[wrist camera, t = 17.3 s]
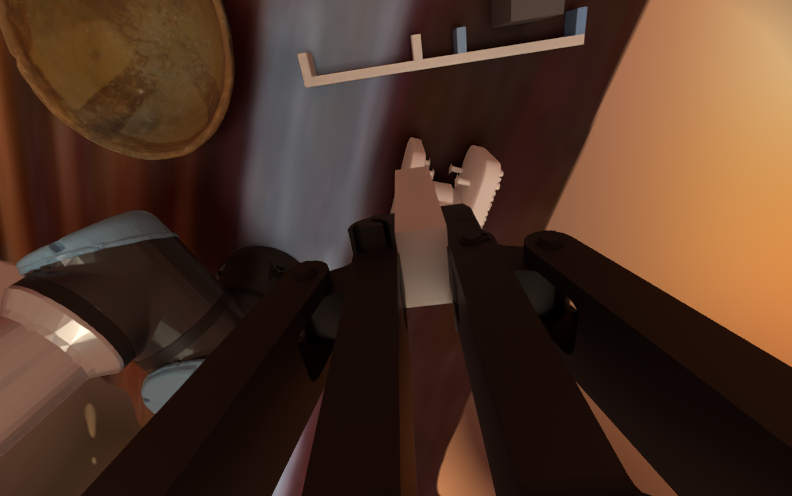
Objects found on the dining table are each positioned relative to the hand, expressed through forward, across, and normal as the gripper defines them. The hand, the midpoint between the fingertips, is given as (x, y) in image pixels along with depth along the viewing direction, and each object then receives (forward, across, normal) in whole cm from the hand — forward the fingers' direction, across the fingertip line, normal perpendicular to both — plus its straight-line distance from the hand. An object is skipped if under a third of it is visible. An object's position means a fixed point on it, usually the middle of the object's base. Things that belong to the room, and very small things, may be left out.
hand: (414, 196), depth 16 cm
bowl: (+33, -26, +11) cm, 43 cm away
